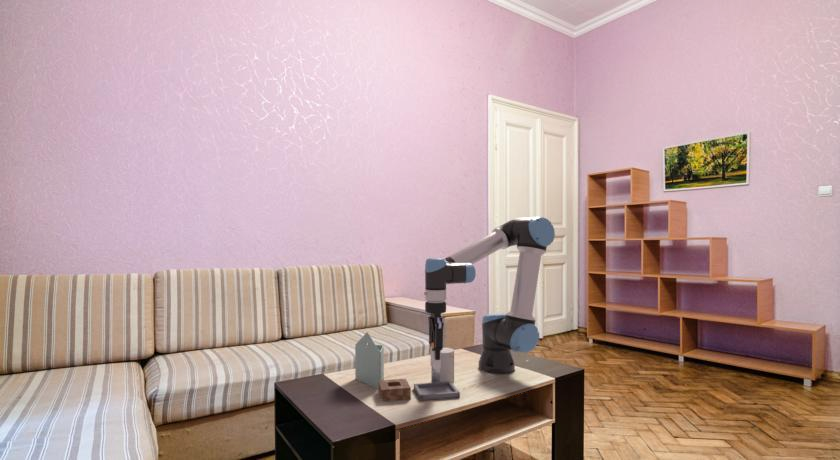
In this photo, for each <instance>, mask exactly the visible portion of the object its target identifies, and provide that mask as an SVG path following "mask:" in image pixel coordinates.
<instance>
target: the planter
mask: <svg viewBox="0 0 840 460" xmlns="http://www.w3.org/2000/svg"><path fill="white" fill-rule="evenodd" d="M354 347H355V350H354V352H355V354H354V355H355V357H354V359H355V360H354V361H355V364H354V365H355V366H354V367H355V371H354V372H355V375H354V377H355V380H356V379H357V380H356V381H359V382H362V383H364V384H366V385H367V386H370V387H372V388H375V389H377V390H379V389H378V381H379V380H385V375H384V373H385V372H384V371H385V363H384V362H385V361H384V360H385V359H384V358H385V357H384V356H385V353H384V351H385V350H384V349H385V347H384V345H383V344H378V345H377V344H376V343H375V342H374V340H373V338H372V337H371V335H370V333H369V332H368V331H367V332H365V333H364V334H363V336H362V337H361V338H360V339H358V341H357V342H356V344H355V346H354Z"/></svg>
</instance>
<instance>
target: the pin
mask: <svg viewBox="0 0 840 460" xmlns="http://www.w3.org/2000/svg"><path fill="white" fill-rule="evenodd" d="M432 349H434V342H432V343H431V347H430V367H431V369H430V370H431V371H430V372H431V374H430V375H431V377H430V379H431V382H430V383H433V384H438V383H440V369H433V351H432Z"/></svg>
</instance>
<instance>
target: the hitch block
mask: <svg viewBox="0 0 840 460" xmlns="http://www.w3.org/2000/svg"><path fill="white" fill-rule="evenodd" d="M377 390H378V394H379V397H380V401H381V402H382V403H383V402H394V401H396V402H397V401H407V400H408V401H409V400H411V398H412V397H411V395H412V394H411V392H412V391H411V390H412V389H411V386H410V384H409V382H408V380H407V378H396V379H395V378H394V379H384V380H379V381H378V389H377Z"/></svg>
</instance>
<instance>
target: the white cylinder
mask: <svg viewBox="0 0 840 460" xmlns="http://www.w3.org/2000/svg"><path fill="white" fill-rule="evenodd" d="M447 381H451V383H452V384H454V383H455V349H453V348H451V347H443V349H442V350H441V369H440V382H447Z"/></svg>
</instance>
